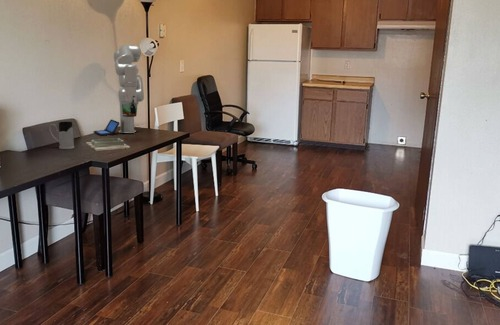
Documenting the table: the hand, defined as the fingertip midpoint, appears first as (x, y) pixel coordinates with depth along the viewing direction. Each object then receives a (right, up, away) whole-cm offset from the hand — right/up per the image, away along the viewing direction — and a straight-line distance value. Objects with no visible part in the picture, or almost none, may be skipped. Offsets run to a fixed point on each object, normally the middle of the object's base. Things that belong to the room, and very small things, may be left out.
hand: (131, 112), depth 297 cm
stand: (-11, -22, -14) cm, 29 cm away
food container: (0, -3, 0) cm, 3 cm away
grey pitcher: (-35, -23, -22) cm, 48 cm away
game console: (-24, -13, +25) cm, 37 cm away
